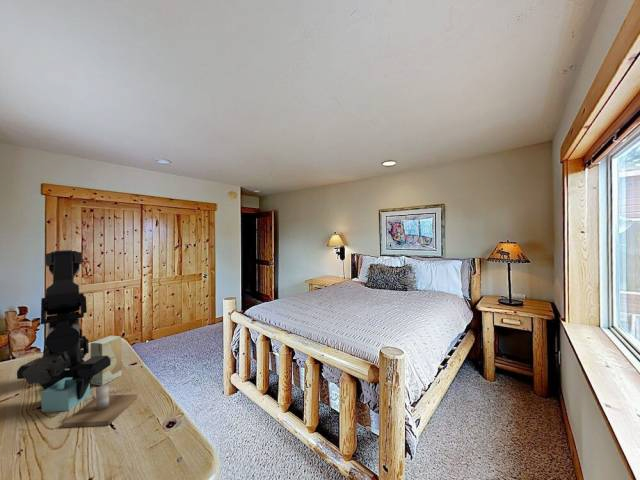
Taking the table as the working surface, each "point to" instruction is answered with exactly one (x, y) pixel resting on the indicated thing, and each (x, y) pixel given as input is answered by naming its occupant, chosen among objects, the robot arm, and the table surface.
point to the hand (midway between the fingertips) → (67, 399)
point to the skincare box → (111, 349)
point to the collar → (61, 396)
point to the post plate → (100, 415)
